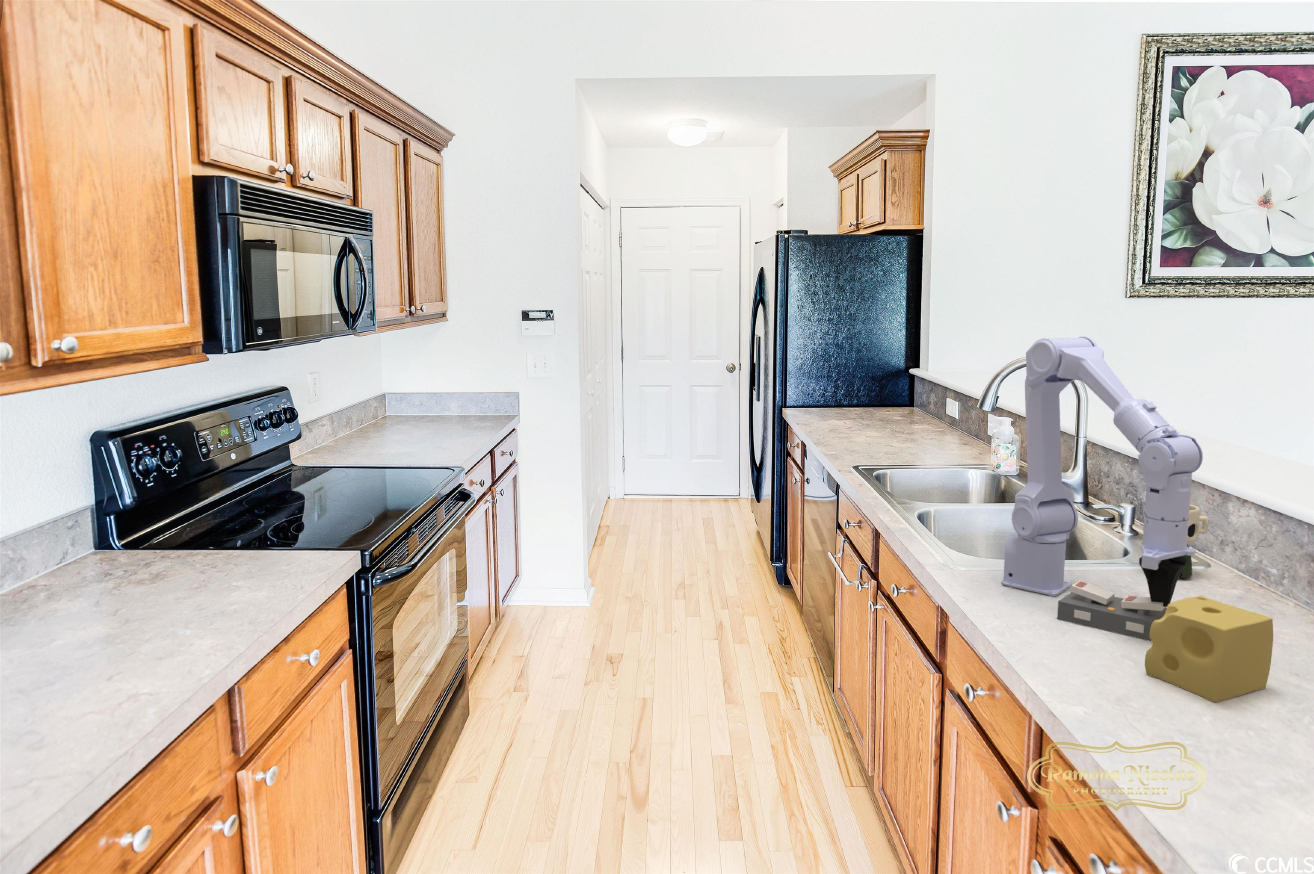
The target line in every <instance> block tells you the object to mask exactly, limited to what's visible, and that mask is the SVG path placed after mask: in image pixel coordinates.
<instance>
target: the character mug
mask: <svg viewBox="0 0 1314 874" xmlns="http://www.w3.org/2000/svg"><path fill="white" fill-rule="evenodd" d="M1200 514H1201V508H1200V507H1199V506H1197V505H1194V504H1190V509H1189V522H1188V535H1187V547H1188V548H1191V547H1190V546H1189V545H1190V544H1194V543H1196V541H1197V539H1198V538H1199V535H1200V534H1201V535H1203V534H1205V535H1206V534H1207V533H1208V531H1209V517H1208V516H1206V515H1200ZM1200 522H1201V528H1200ZM1143 530H1144V524H1143V527H1142V531H1143ZM1179 557H1182V558H1186V559H1188V563H1187V565H1186V566H1185V567H1184V569H1183V570H1182V572H1181V574H1180V576H1179V577H1182V578H1190V577H1191V576H1192V575H1193V563H1192V556H1188V555H1184V556H1179Z"/></svg>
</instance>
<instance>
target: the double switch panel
mask: <svg viewBox="0 0 1314 874" xmlns="http://www.w3.org/2000/svg"><path fill="white" fill-rule="evenodd" d="M1123 599H1124V597H1117V596H1114V599H1113V600H1112V601H1110V602H1109V603H1108V604H1106V605H1105V604H1103V603H1100V602H1097V601H1095V600H1092V599H1089V598H1087V597H1084V596H1081V595H1079V594H1076V593H1073V592H1071V591H1070V593H1068V594H1066V595H1065V596H1064V597H1062V598H1061V599H1059V600H1058V602H1057V620H1059V621H1064V622H1069V623H1072V624H1076V625H1077V624H1078V625H1080V626H1083V627H1084V626H1085V627H1090V628H1094V629H1098V630H1102V631H1106V632H1111V633H1115V634H1119V635H1124V636H1128V637H1132V638H1135V637H1136V639H1140V640H1144V641H1148V640H1149V641H1148V642H1152V640H1151V639H1150V628H1151V625H1152V623H1153V622H1154V621H1155V620H1159V619H1161V618H1162V617H1163V616H1164V615H1165V612H1166V609H1167V607H1165V608H1164V609H1163V610H1162V611H1156V610H1143V609H1130V608H1122V607H1121V601H1122V600H1123Z"/></svg>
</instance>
